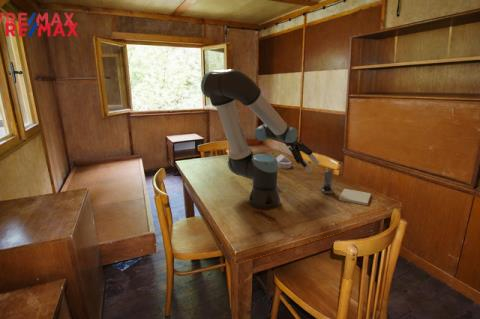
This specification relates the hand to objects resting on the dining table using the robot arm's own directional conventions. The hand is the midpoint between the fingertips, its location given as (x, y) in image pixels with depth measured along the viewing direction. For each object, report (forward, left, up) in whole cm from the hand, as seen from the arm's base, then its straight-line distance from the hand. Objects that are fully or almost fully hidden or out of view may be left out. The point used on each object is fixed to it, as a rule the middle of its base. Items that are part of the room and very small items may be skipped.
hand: (314, 167), depth 144 cm
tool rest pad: (0, -22, -12) cm, 25 cm away
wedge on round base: (+32, +30, -13) cm, 46 cm away
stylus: (0, -8, -13) cm, 15 cm away
